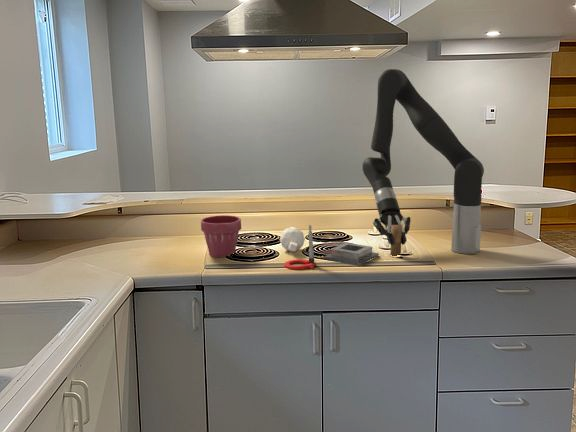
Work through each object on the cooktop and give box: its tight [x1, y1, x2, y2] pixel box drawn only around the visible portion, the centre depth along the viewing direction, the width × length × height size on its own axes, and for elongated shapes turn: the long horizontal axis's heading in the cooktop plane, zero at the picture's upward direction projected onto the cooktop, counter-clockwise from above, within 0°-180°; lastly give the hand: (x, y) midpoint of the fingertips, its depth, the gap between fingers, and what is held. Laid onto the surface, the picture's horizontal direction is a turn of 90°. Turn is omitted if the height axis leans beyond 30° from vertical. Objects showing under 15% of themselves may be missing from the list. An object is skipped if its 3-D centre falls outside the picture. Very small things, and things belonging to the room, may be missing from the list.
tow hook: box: [283, 224, 315, 270], centre depth 186 cm, size 9×14×10 cm
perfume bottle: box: [279, 226, 306, 253], centre depth 204 cm, size 9×9×12 cm
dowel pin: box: [389, 224, 403, 256], centre depth 197 cm, size 4×4×11 cm
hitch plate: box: [323, 242, 380, 266], centre depth 196 cm, size 14×14×4 cm
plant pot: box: [200, 214, 242, 258], centre depth 201 cm, size 14×14×13 cm
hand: (398, 243), depth 195 cm, fingers closed on dowel pin, 3 cm apart
